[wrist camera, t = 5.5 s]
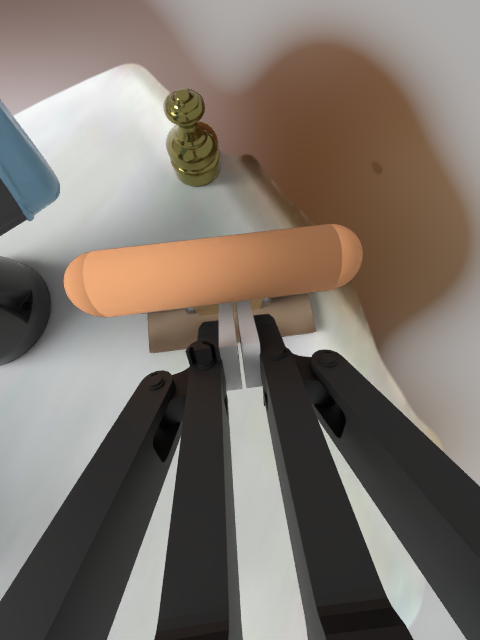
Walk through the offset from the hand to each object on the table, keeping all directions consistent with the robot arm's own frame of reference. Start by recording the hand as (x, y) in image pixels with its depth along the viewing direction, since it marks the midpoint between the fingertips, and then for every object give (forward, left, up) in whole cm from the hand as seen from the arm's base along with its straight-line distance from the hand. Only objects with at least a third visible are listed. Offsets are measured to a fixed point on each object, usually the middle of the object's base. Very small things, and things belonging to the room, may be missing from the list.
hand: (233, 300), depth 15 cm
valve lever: (-5, +3, -7) cm, 9 cm away
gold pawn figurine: (-22, +15, -16) cm, 31 cm away
